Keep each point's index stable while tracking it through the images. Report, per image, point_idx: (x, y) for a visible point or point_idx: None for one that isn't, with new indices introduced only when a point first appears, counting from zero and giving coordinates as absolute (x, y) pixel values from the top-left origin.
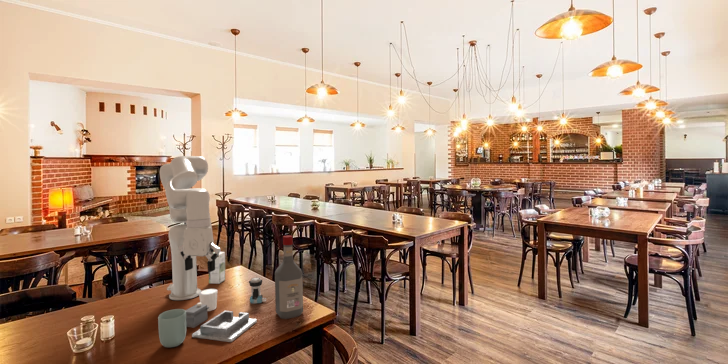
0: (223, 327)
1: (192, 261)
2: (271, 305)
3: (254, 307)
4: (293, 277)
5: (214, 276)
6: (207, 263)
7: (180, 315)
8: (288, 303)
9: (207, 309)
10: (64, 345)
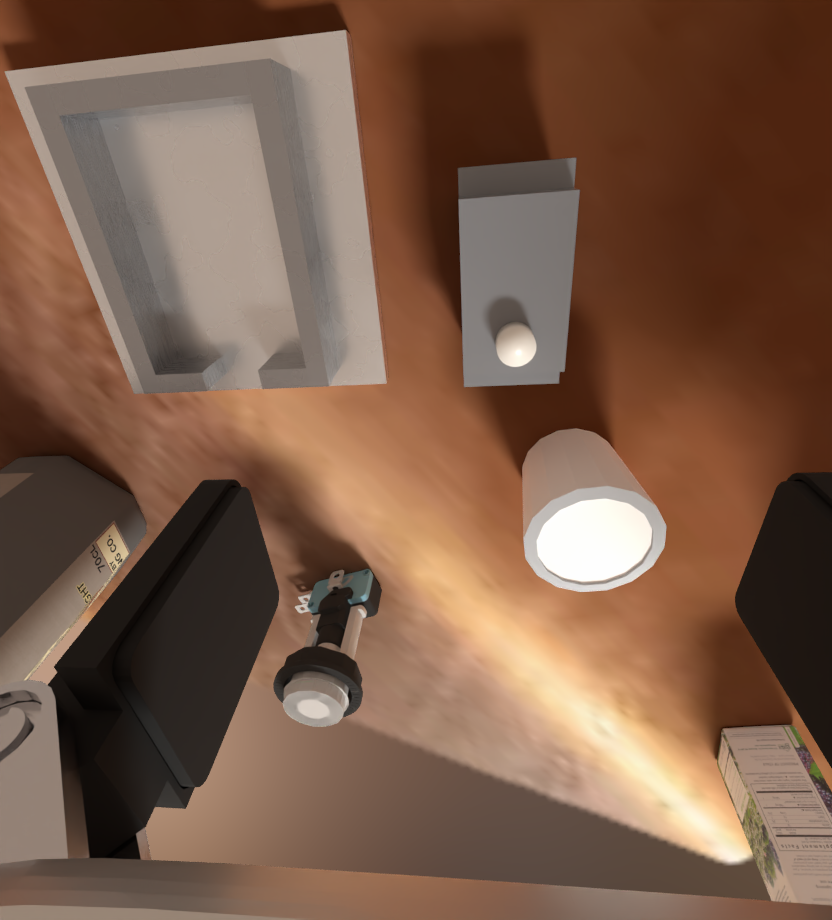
0: (75, 112)
1: (813, 731)
2: None
3: (308, 533)
4: None
5: (776, 769)
6: (149, 615)
7: None
8: None
9: (550, 440)
10: None
